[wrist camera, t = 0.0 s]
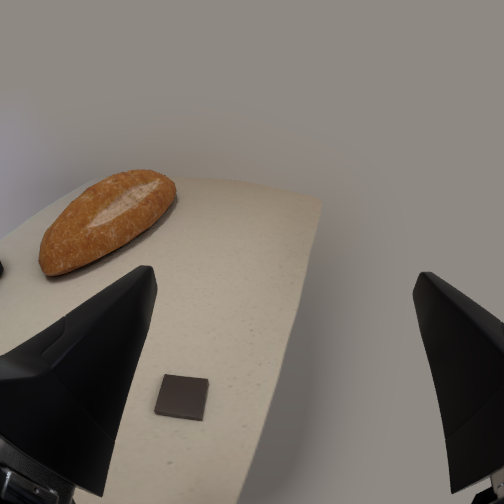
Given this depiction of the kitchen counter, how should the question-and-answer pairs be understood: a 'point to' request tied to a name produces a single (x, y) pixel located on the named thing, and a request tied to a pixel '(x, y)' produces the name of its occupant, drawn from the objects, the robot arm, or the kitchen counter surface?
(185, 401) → the coaster
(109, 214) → the bread
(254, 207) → the kitchen counter surface
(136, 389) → the kitchen counter surface
